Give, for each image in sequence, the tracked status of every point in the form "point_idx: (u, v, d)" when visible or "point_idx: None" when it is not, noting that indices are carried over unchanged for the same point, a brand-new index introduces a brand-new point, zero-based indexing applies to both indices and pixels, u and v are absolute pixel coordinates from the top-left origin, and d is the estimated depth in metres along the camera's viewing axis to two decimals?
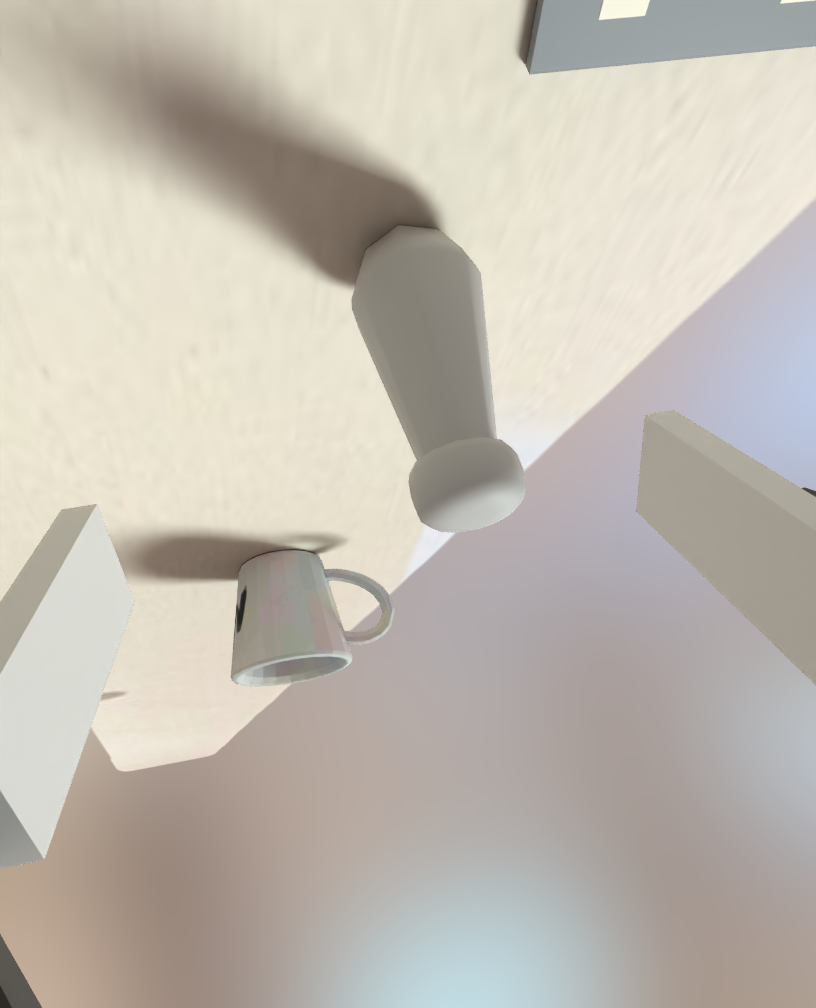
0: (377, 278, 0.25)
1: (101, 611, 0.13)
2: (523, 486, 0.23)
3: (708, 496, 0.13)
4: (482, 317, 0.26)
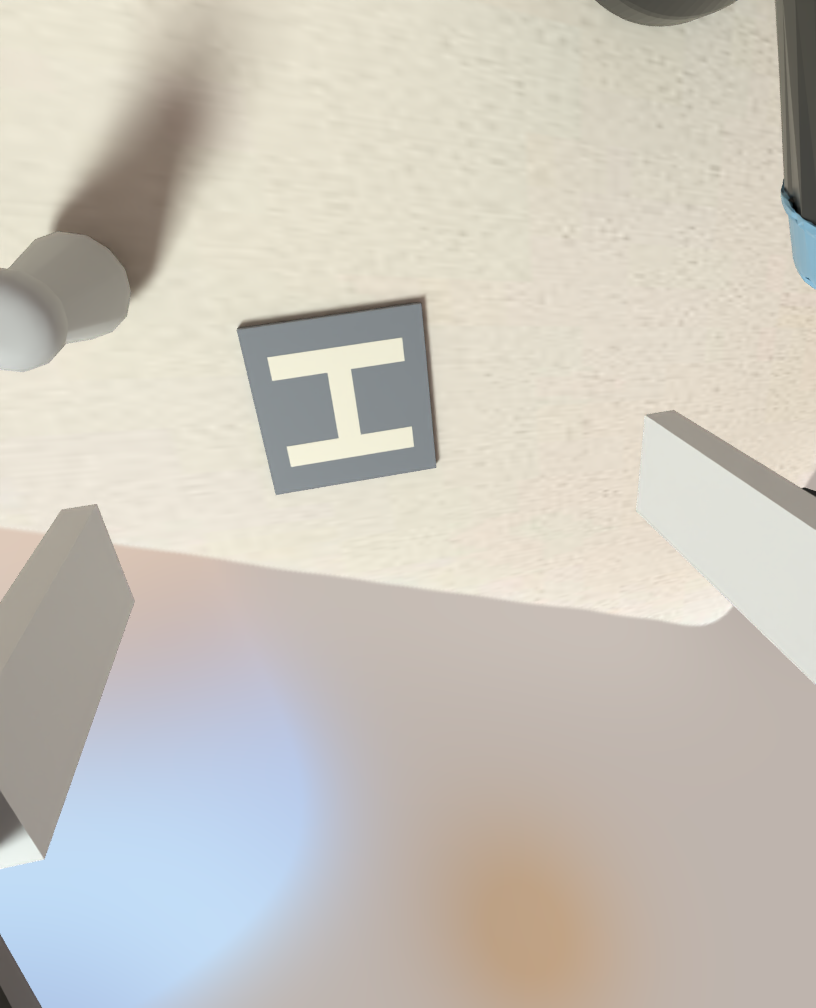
0: (100, 248, 0.34)
1: (101, 611, 0.13)
2: (41, 363, 0.28)
3: (708, 496, 0.13)
4: (98, 332, 0.34)
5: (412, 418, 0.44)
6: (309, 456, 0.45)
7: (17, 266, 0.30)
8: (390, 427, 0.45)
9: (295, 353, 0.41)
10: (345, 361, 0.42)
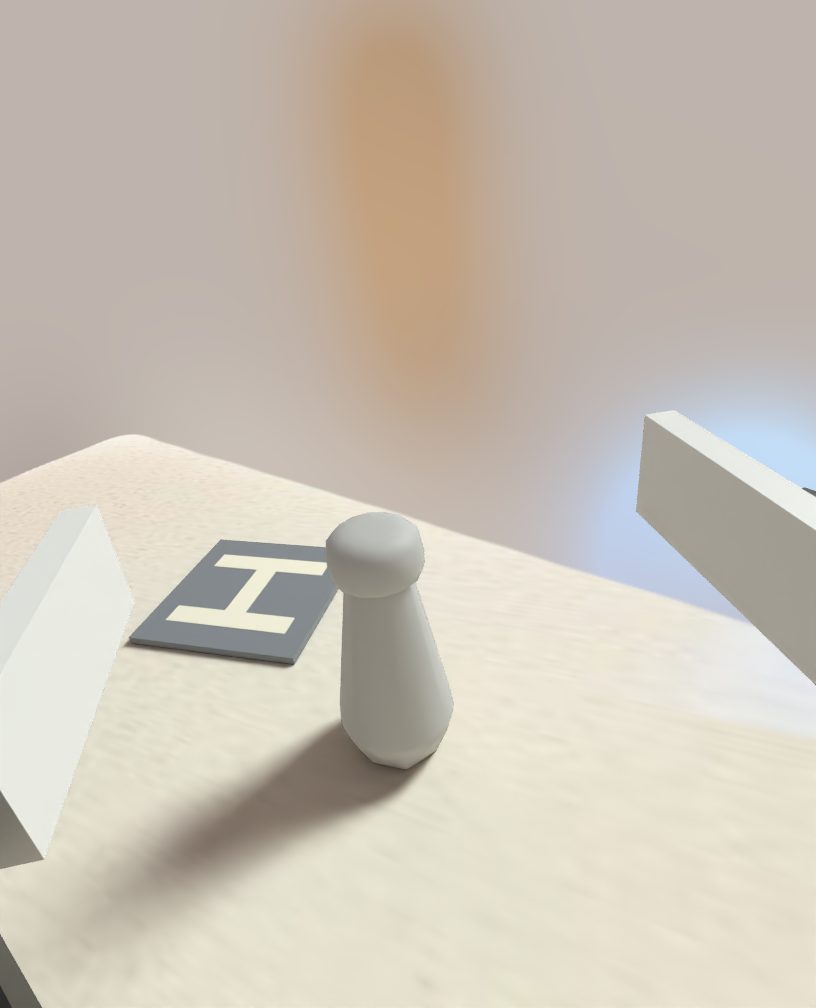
0: (344, 719, 0.31)
1: (101, 611, 0.13)
2: None
3: (708, 496, 0.13)
4: None
5: (208, 570, 0.48)
6: (309, 565, 0.47)
7: (382, 650, 0.28)
8: (230, 568, 0.47)
9: (259, 630, 0.41)
10: (224, 615, 0.43)
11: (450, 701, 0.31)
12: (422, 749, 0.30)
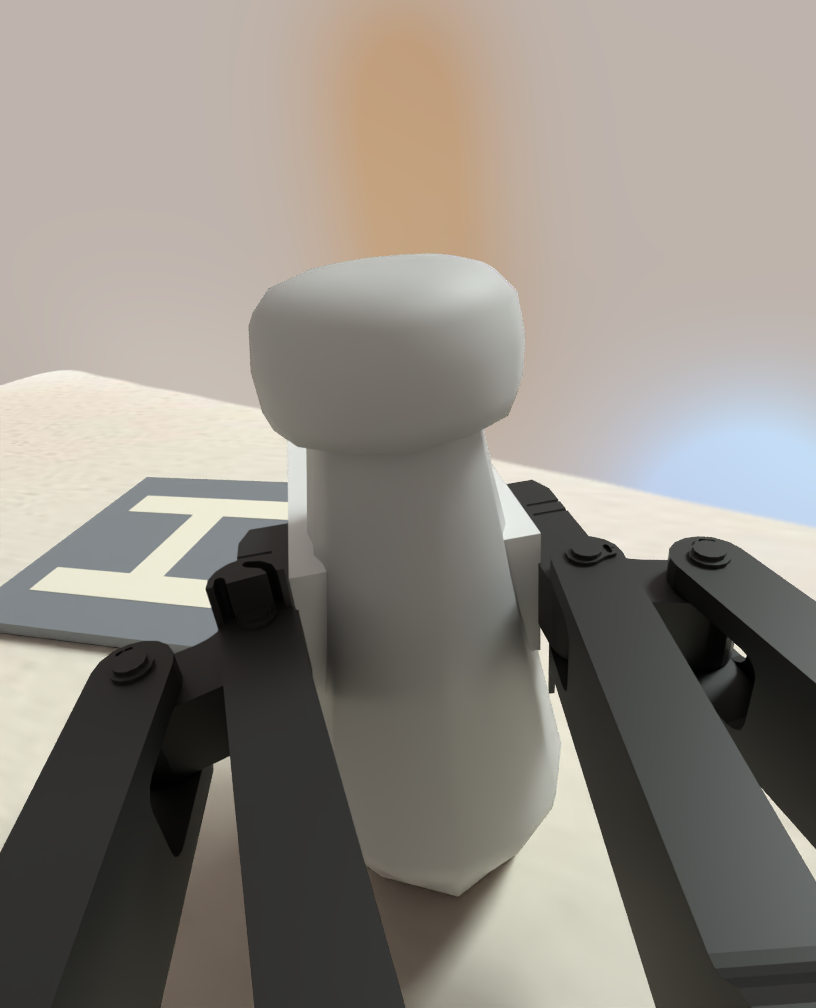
0: None
1: None
2: None
3: None
4: None
5: (118, 517, 0.30)
6: (275, 507, 0.30)
7: (408, 616, 0.10)
8: (152, 514, 0.30)
9: (180, 604, 0.23)
10: (126, 582, 0.25)
11: (557, 740, 0.14)
12: (500, 860, 0.12)
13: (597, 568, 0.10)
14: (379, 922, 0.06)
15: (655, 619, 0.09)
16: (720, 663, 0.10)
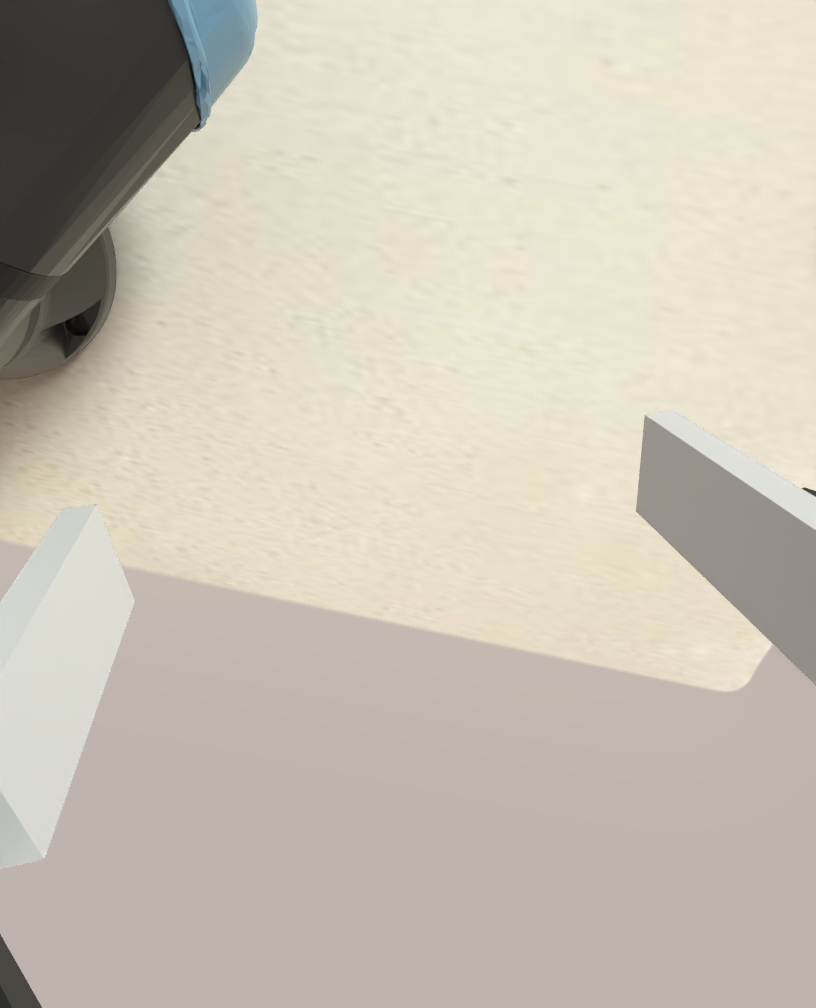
0: None
1: (101, 611, 0.13)
2: None
3: (708, 496, 0.13)
4: None
5: None
6: None
7: None
8: None
9: None
10: None
11: None
12: None
13: None
14: None
15: None
16: None
